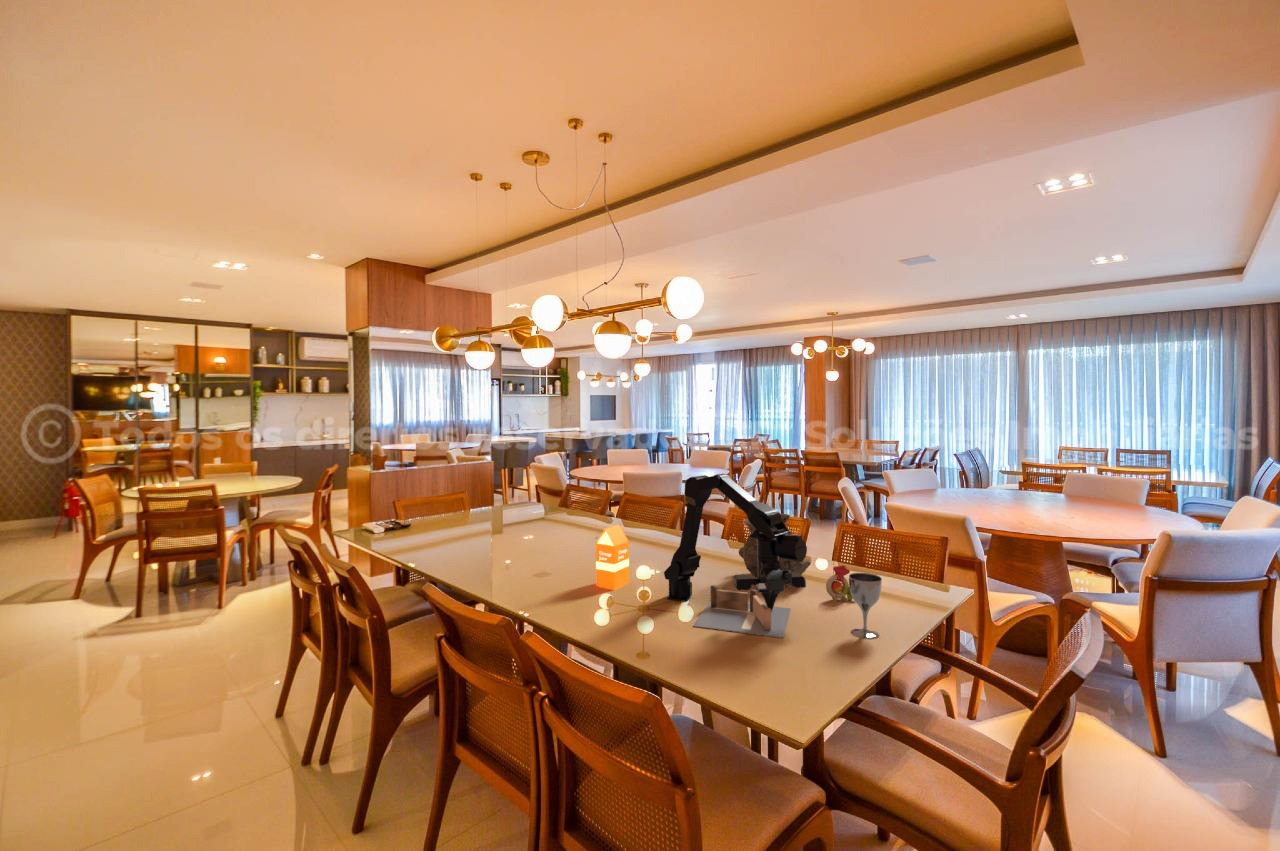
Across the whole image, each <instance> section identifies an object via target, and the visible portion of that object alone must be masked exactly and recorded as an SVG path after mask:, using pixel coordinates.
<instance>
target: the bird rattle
mask: <svg viewBox="0 0 1280 851" xmlns="http://www.w3.org/2000/svg"><path fill="white" fill-rule="evenodd" d="M833 571H834V574H832V575H831V576H830V577H829V578H828V579H827V581H826V584H825V588H826V592H827V594H829V596H830V597H831V599H832V600H833V601H836V600H838V599H842V598H844V597H845V596H846V598H847V599H848V601H852V600H854V599H853V598H852V596H851V592H850V587H849V581H848V579H847V578H846V577H845V576H847V575H848V574H849V575H850V574H851V573H850V572H851V570H850V569H847V566H846V565H835V566H834V567H833Z"/></svg>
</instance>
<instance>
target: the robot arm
mask: <svg viewBox="0 0 1280 851" xmlns="http://www.w3.org/2000/svg"><path fill="white" fill-rule="evenodd" d="M714 489H717V490H718V491H719V492H720V493H722V495H724V496H725V498H728V500H730V501H731V502H732V503H733V504H734V505H736V507H738V508H739V509H740V510H741V511H742V512H743V513H745V515H746V516H747V519H748V520H749V522H750V523H751V524H752V525H753V527H754V528H755V529H756V530H755V531H754V532H753V533H752V534H751V533H750V534H749V535H750V537H751V538H756V539H757V556H758V557H757V561H758V578H757V577H750V576H749V575H748V573H746V574H745V573H743V574H735V575H734V576H733V578H732V581H733V586H734V588H735V590H737V591H750V590H751V589H752V586H754V588H755V590H757V593H760V594H761V597H762V598H763V600H764V605H765V606H767V608H771V612H772V609H773V606H774V607H775V603H776V600H777V598H778V596H779V594H780V593H782V592H784V591H785V586H787V585H791V586H792V587H793V589H805V588H806V587H807V583H806V577H804V576H803V574H800V573H799V572H791V571H790V570H781V567H780V561H779V557H780V558H783V559H788V560H793V561H799V562H802V561H805V560H806V556H807V553H808V552H807V551H808V546H807V544H806V541H805V540H803V535H802V534H799V533H798V534H793V533H792V534H790V531H791V530H789V528H788V527H787V525H786V523H785V524H784V522H783V520H782V519H781V514H782V513H781V512H780V511H779V510H778V509H776V508H775V507H772V506H771V505H769V504H766V503H764V502H761V501H759V500H757V499H756V498H754V497H753V496H752V495H751V494H750V493H748V492H747V491H746V490H745V489H744V488H743V487H741V486H740V485H739V484H737V483H736V482H735V481H734V480H733V479H731V478H730V475H728V474H726V473H719V474H714V475H711V476H708V475H697V476H691V477H689V478H687V479H686V481H685V482H684V497H685V499H686V502H687V506H686V510H685V515H684V521H683V526H682V531H681V538H680V542H679V546H678V548H677V549H676V550H675V552H674V553H673V556H672V559H671V561H670V565H669V566H668V567H667V568H666V569H665V570H664V571H663V575H664V578H665V580H667V581H668V596H667V598H666V599H667V600H676V601H685V602H688V600H690V599H691V597H692V596H693V582H692V581H691V578H692V577H694V575H695V573H696V571H697V570H698V568H700V561H701V558H702V556H701V555H700V554H698V551H697V549H696V548H697V542H698V536H699V531H700V527H701V521H702V516H703V515H702V514H703V512H704V511H703V509H704V506H705V504H706V503H707V502H708V500H709V499H710V498H711V494H712V492H713V490H714ZM774 529H778V530H775V531H772V530H774Z"/></svg>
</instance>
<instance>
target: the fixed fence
mask: <svg viewBox="0 0 1280 851" xmlns="http://www.w3.org/2000/svg"><path fill="white" fill-rule="evenodd" d="M753 596H758V591H757V589H756V588H755V589H754V588H753V589H752V588H750V589H749V592H746V591H739V590H737V591H736V590H728V589H727V590H726V589H718V586H717V585H711V586H710V600H711V608H723V609H732V610H740V611H748V604H750V612H753Z"/></svg>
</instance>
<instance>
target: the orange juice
mask: <svg viewBox="0 0 1280 851" xmlns="http://www.w3.org/2000/svg"><path fill="white" fill-rule="evenodd" d="M629 545H630V542H629V540H628V538H627V536H626V534H625V532H624V530H623V529H622V526H621V525H620V523H619V524H616V525H615V524H614V525H611V526H609V527H605V528H604V530H603V532H601V534H600V536H599V538H598V539H597V541H596V543H595V571H596V572H595V577H596V578H595V579H596V580H595V581H596V584H595V586H596V587H597V586H599V587H598V588H602V587H603V588H602V589H608V590H613V591H616V590H618V589H621V588H622V587H624V586H626V585H628V584H630V550H629V549H630V546H629Z"/></svg>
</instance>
